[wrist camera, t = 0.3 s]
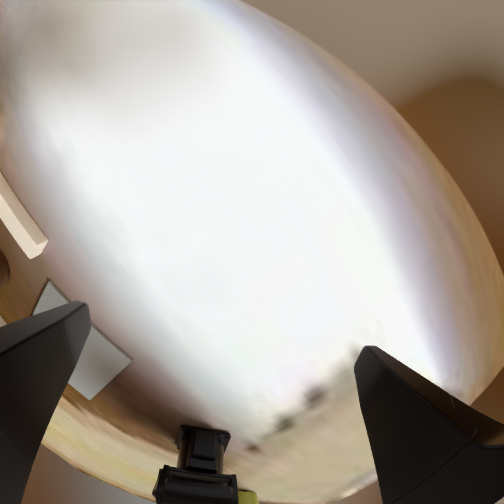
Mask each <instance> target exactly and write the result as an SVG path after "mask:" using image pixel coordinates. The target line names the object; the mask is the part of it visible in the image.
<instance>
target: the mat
mask: <svg viewBox="0 0 504 504" xmlns="http://www.w3.org/2000/svg"><path fill="white" fill-rule="evenodd" d="M67 303H70V301H69V300H68V299H67V298H66V297H65V296H64V295H63V294H62V292H61V291H60V290H59V289H58V288H57V287H56V286H55V285H54V284H53V282H52V281H51V280H50V281H49V282H48V284H47V286H46V288H45V290H44V292H43V294H42V296H41V298H40V300H39V302H38V304H37V306H36V308H35V311H34V313H33V315H35V314H38V313H41V312H44V311H47V310H50V309H53V308H56V307H59V306H61V305H64V304H67ZM132 360H133V359H132V358H131V357H130V356H129V355H127V354H126V353H125V352H124V351H122V350H121V349H120V348H119V347H118V346H117V345H115V344H114V343H113V342H112V341H111V340H110V339H108V338H107V337H106V336H105V335H104V334H103V333H102V332H101V331H100V330H99V329H97V328H96V327H95V326H94V325H93V324H92V323H91V330H90V333H89V336H88V338H87V340H86V343H85V345H84V348H83V350H82V352H81V355H80V357H79V360H78V363H77V365H76V367H75V369H74V371H73V373H72V375H71V377H70V379H69V381H68V383H69V384H70V385H71V386H73V387H74V388H75V389H76V390H77V391H79V392H80V393H81V394H82V395H84V396H85V397H86V398H87V399H89V400H91V399H92V398H93V397H94V396H95V395H96V394H97V393H98V392H99V391H100V390H101V389H102V388H104V387H105V386H106V385H107V384H108V383H109V382H110V381H111V380H112V379H113V378H114V377H115V376H116V375H117V374H119V373H120V372H121V371H122V370H123V369H124V368H125V367H126V366H127V365H128V364H129V363H130V362H131V361H132Z"/></svg>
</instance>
